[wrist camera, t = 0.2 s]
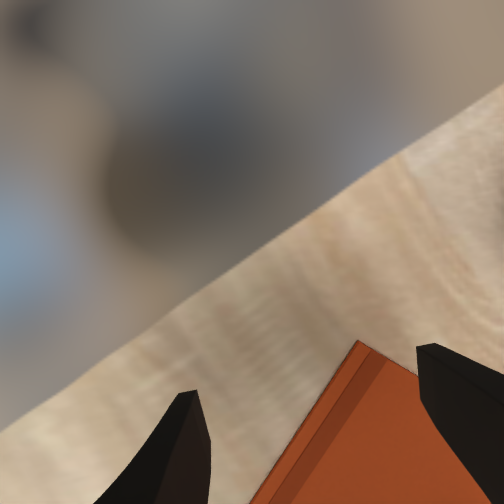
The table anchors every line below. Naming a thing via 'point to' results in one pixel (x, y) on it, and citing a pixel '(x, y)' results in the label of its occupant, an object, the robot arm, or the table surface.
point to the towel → (369, 445)
